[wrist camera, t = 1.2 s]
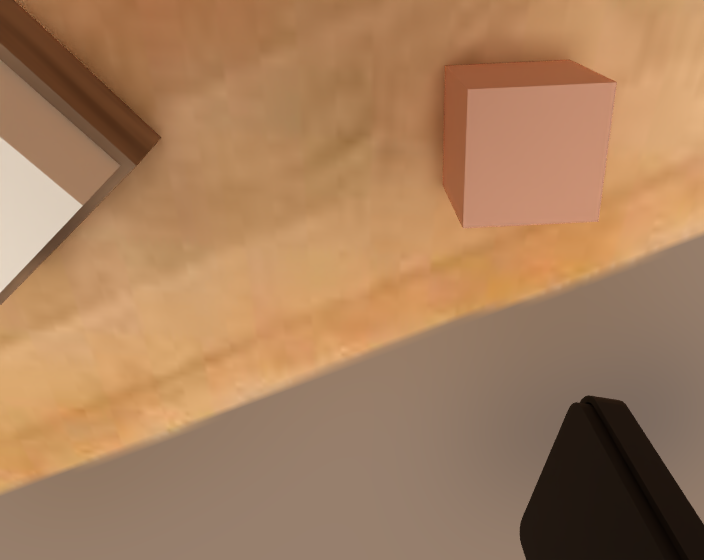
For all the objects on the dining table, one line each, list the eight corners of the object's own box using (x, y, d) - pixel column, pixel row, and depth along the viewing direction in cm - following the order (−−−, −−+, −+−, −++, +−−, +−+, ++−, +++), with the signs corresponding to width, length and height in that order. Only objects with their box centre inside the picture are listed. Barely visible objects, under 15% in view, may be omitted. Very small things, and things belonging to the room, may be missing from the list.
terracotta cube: (569, 59, 32) (616, 82, 27) (557, 179, 35) (598, 221, 30) (444, 65, 32) (467, 89, 27) (442, 184, 35) (462, 228, 30)
